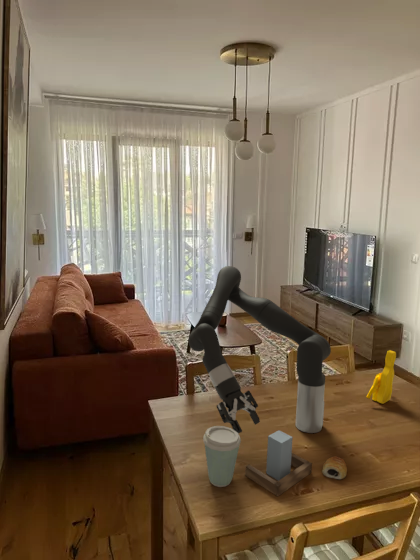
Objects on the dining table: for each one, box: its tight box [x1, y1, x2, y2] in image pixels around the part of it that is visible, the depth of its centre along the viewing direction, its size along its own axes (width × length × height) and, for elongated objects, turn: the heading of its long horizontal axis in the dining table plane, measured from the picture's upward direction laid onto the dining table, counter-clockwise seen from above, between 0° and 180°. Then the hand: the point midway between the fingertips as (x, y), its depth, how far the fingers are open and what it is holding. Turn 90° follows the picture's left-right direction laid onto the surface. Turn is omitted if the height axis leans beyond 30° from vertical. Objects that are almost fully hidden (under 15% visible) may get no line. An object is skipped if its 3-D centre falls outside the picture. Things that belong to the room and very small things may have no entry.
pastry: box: [321, 455, 348, 480], centre depth 128 cm, size 9×7×4 cm
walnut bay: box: [244, 452, 313, 497], centre depth 125 cm, size 16×12×3 cm
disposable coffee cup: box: [202, 425, 242, 488], centre depth 120 cm, size 11×11×15 cm
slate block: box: [265, 430, 293, 481], centre depth 124 cm, size 5×5×12 cm
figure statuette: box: [365, 349, 397, 405], centre depth 173 cm, size 18×8×22 cm, turn 131°
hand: (248, 428), depth 132 cm, fingers open, 8 cm apart
